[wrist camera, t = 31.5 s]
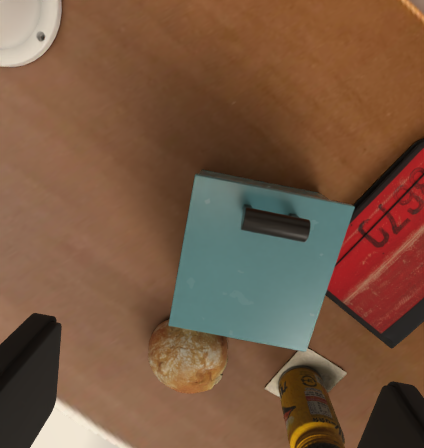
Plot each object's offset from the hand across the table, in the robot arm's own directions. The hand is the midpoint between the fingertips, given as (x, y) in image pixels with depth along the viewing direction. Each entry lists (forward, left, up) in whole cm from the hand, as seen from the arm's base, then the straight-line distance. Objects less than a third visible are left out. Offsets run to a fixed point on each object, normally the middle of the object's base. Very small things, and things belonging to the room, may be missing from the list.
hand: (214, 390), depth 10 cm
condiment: (+23, +16, -31) cm, 41 cm away
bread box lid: (+5, +4, -21) cm, 22 cm away
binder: (+2, +22, -31) cm, 38 cm away
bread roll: (+21, 0, -31) cm, 37 cm away
